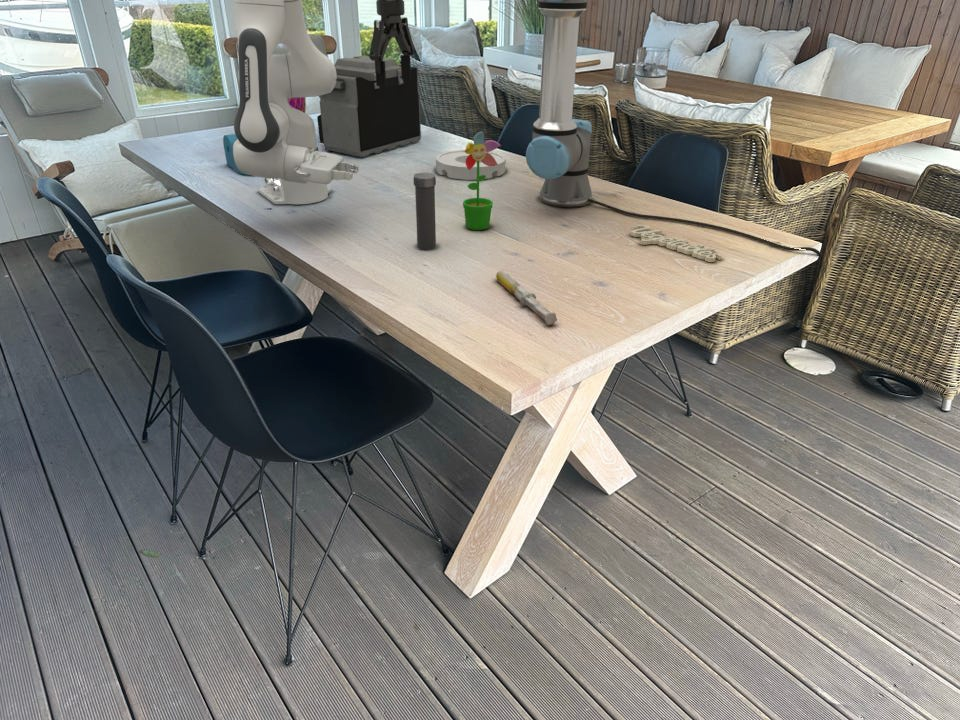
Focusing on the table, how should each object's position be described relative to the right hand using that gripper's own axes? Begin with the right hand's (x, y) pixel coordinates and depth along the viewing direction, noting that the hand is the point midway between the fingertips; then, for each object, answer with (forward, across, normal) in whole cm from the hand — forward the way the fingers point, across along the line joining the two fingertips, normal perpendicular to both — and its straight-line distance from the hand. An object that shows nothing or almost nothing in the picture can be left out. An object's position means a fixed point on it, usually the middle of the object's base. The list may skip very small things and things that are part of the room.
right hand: (394, 83), depth 195 cm
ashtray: (+31, -29, +10) cm, 44 cm away
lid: (+13, +38, +31) cm, 51 cm away
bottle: (+31, +38, +31) cm, 58 cm away
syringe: (+31, +57, +64) cm, 91 cm away
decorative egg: (+31, -35, -72) cm, 86 cm away
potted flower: (+31, +20, +36) cm, 51 cm away
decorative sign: (+31, +11, +85) cm, 91 cm away
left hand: (+16, +34, +8) cm, 39 cm away
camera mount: (+31, +2, -56) cm, 64 cm away
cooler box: (+31, -43, -38) cm, 65 cm away
